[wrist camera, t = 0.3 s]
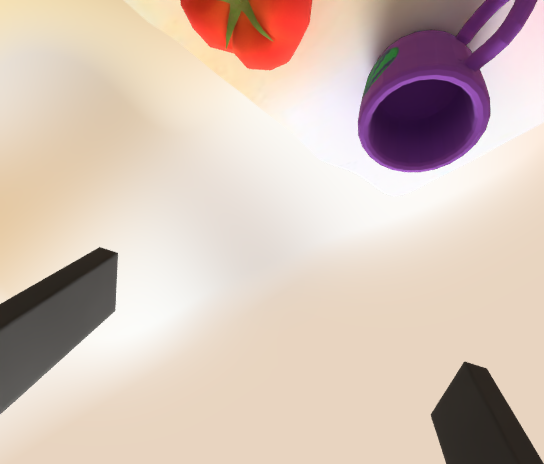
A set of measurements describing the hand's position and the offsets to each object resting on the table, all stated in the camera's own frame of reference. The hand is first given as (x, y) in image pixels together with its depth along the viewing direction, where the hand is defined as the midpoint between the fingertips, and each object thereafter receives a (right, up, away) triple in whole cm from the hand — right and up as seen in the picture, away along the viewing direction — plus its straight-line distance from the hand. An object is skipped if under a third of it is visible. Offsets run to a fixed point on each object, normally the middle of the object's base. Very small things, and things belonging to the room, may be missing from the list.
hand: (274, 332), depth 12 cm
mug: (+18, +23, +21) cm, 36 cm away
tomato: (-1, +30, +20) cm, 36 cm away
